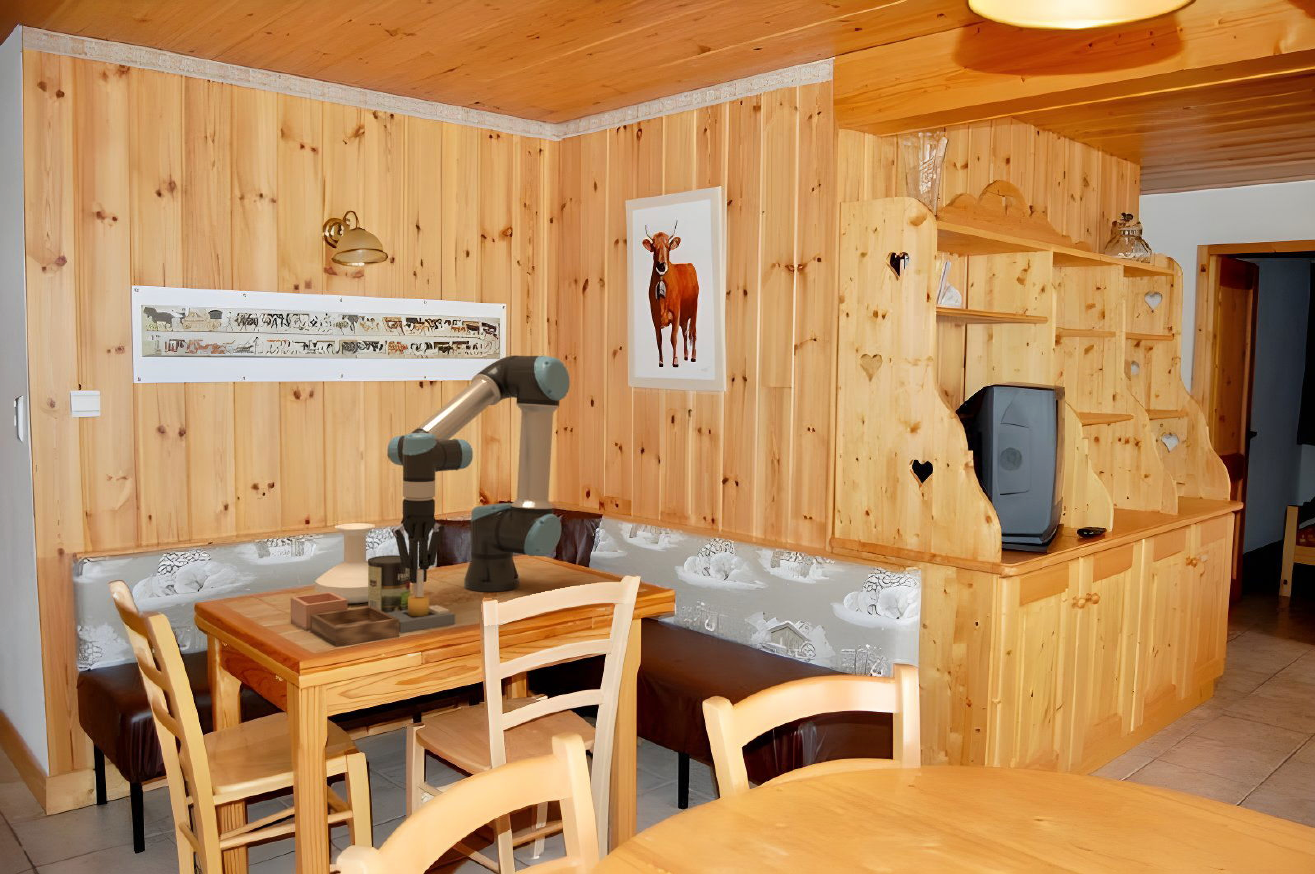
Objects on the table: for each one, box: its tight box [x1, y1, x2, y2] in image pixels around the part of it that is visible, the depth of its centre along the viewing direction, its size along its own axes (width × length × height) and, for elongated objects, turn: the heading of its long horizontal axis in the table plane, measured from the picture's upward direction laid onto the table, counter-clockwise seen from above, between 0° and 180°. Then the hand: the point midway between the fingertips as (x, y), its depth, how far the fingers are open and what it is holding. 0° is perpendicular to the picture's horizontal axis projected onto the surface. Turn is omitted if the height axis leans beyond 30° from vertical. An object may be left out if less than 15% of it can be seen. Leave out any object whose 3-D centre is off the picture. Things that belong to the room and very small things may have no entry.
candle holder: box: [314, 522, 376, 604], centre depth 276 cm, size 20×20×19 cm
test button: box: [408, 594, 430, 616], centre depth 252 cm, size 5×5×4 cm
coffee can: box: [367, 554, 411, 613], centre depth 259 cm, size 10×10×14 cm
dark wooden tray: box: [310, 606, 400, 647], centre depth 242 cm, size 15×15×4 cm
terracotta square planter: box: [290, 592, 348, 632], centre depth 251 cm, size 10×10×6 cm
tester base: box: [387, 604, 456, 634], centre depth 252 cm, size 14×10×3 cm
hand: (417, 595), depth 251 cm, fingers closed
